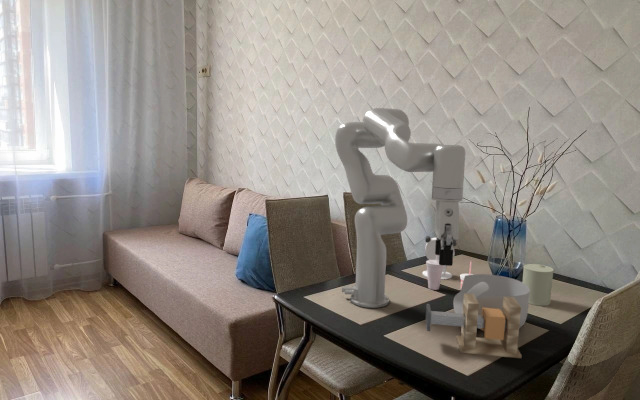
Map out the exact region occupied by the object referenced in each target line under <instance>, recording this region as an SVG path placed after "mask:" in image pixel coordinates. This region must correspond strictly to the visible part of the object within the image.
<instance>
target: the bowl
mask: <svg viewBox="0 0 640 400" xmlns="http://www.w3.org/2000/svg"><path fill="white" fill-rule="evenodd" d="M522 282H523V281H520V280H518V279H515V278H511V277H507V276H503V275H496V274H474V275H467V276H465V278H464V281H463V285H462V288H461V287H460V291H459V292H457V293H456V294H455V295H454V297H453V301H452V302H453V311H454V313H461V314H463V300H464V293H465V294H474V296H475V298H476V300H477V302H478V304H479V306H478V315H482V308H494V309H500V310H501V311H502V309H503V298H504V297H514V298H515V300H516V301H517V302H518V304H519V305H520V307H521V314H520V325H519V329H520V328H522V326H524V324H525V322H526V320H527V318H528V312H529V305H530V304H529V293H530V289H529V287H528V286H527V285H526V284H524V283H522ZM477 330H481V328H477Z"/></svg>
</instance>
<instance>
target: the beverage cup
mask: <svg viewBox="0 0 640 400" xmlns="http://www.w3.org/2000/svg"><path fill="white" fill-rule="evenodd" d="M472 263H473V262H472V261H471V260H470V261H469V269H468V270H469V272H468V273H461V274H460V275H459V278H460V289H461V288H462V285H463V281H464V278H465V276H467V275H475V274H473V273H471V272H472Z"/></svg>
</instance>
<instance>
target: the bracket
mask: <svg viewBox="0 0 640 400" xmlns="http://www.w3.org/2000/svg"><path fill="white" fill-rule="evenodd" d="M478 306H479V304H478V302H477V300H476V298H475V296H474V294H465V293H464V300H463V314H465V316H466V321H465V327H462V326H460V329H461V331H460V335H456V341H457V345H458V347H459V348H458V349H459V351H460V353H462V354H463V353H465V354H472V355H483V356H492V357H493V356H494V357H502V358H503V357H504V358H513V359H522V354H521V351H520V350H519V347H518V344H519V334H520V328H519V325H520V314H521V307H520V305H519V304H518V302H517V301H516V300H515V298H514V297H504V298H503V309H502V313H503V315H504V316H505V318H506V320H507V325H506V330H504V340H498V339H487V338H484V337H477V330H478V328H477V319H478Z"/></svg>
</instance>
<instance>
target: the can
mask: <svg viewBox="0 0 640 400" xmlns="http://www.w3.org/2000/svg"><path fill="white" fill-rule="evenodd" d="M522 271H523V273H522V281H521V282H522V283H524V284H526V285H527V286H528V287H529V289H530V293H529V304H528V305H532V306H539V307H546V306H549V305H551V303H552V302H551V298H552V297H551V296H552V286H553V277H554V271H555V269H554V268H553V267H550V266H547V265H544V264H538V263H526V264H524V265H523V270H522Z"/></svg>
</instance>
